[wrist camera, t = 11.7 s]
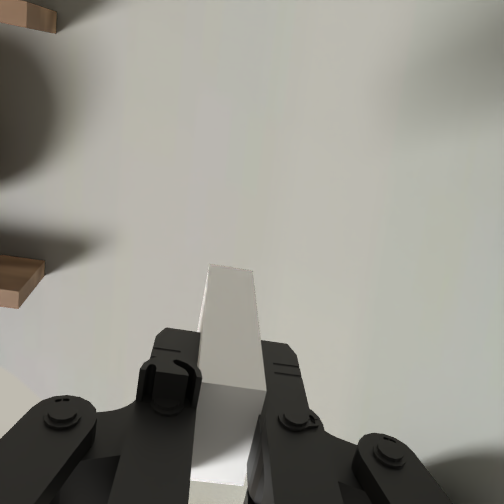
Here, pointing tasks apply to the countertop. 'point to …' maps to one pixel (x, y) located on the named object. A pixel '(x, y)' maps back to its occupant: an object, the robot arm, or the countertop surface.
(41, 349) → the countertop surface
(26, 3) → the wooden tray
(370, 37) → the countertop surface
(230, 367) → the robot arm
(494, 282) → the countertop surface
